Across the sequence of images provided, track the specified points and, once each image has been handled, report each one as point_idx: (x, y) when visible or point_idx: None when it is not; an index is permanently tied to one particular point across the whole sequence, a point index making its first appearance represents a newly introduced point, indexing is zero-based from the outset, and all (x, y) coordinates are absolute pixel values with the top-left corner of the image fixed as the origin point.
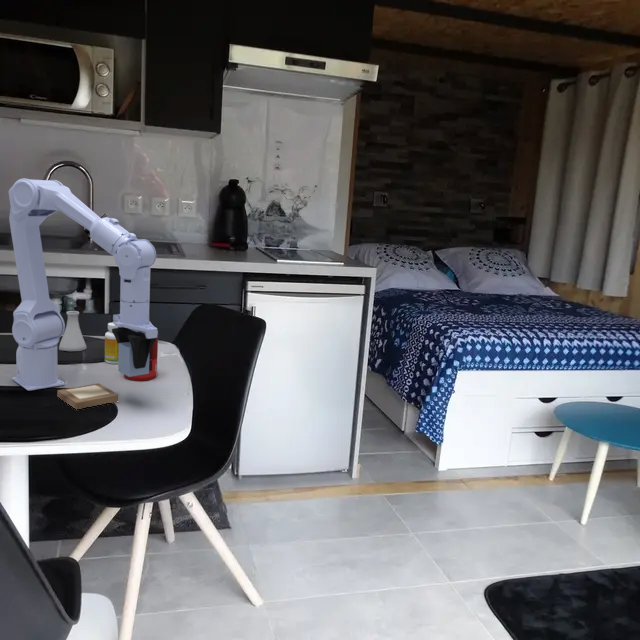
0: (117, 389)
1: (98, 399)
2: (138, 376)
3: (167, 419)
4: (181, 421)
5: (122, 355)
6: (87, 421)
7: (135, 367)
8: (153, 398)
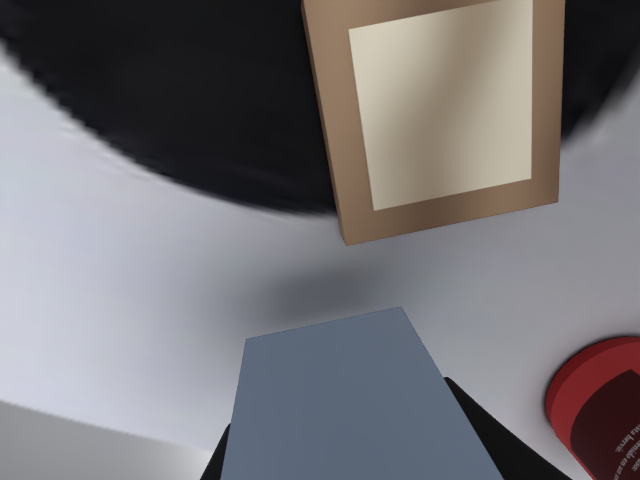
0: (504, 272)
1: (327, 136)
2: (569, 384)
3: (71, 356)
4: (37, 394)
5: (373, 425)
6: (122, 19)
7: (229, 428)
8: None
